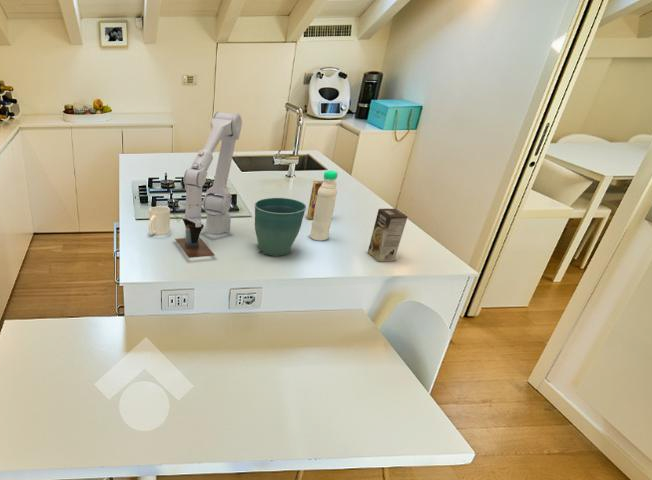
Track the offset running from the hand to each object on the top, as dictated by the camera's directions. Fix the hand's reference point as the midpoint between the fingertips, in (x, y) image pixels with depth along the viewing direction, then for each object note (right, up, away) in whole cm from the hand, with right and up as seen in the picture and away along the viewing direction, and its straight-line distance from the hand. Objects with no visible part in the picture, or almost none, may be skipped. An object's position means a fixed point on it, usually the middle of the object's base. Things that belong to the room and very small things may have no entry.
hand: (192, 239), depth 193 cm
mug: (-13, +5, +13) cm, 19 cm away
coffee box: (+68, -9, -8) cm, 69 cm away
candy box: (+58, +17, +27) cm, 66 cm away
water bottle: (+51, +3, +8) cm, 52 cm away
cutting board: (+1, -4, -1) cm, 4 cm away
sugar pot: (0, -1, +1) cm, 2 cm away
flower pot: (+31, -5, -2) cm, 31 cm away
